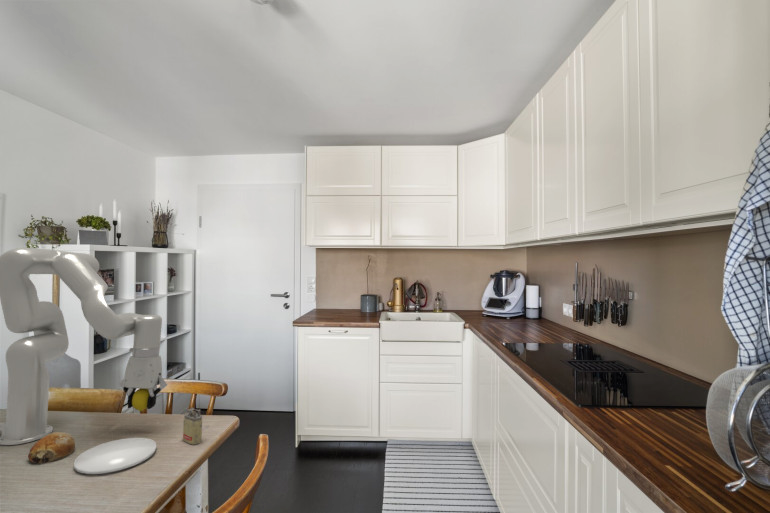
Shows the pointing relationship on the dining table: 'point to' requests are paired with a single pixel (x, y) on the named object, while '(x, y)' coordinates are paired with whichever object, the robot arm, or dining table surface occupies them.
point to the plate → (114, 455)
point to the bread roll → (52, 448)
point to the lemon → (140, 399)
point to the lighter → (192, 427)
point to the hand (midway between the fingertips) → (141, 406)
